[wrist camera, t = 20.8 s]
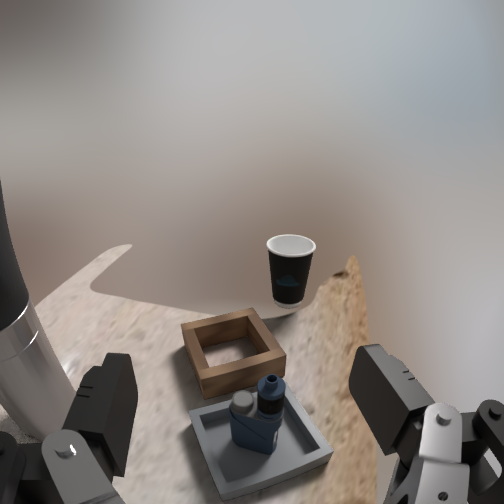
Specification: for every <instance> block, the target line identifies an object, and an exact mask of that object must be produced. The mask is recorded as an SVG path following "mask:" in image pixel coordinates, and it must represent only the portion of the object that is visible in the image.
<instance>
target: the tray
mask: <svg viewBox="0 0 504 504" xmlns="http://www.w3.org/2000/svg"><path fill="white" fill-rule="evenodd" d="M285 384H286V389H285V398H284V407H283V410H284V413H283V422H282V425H281V427H280V428H279V430H278V438H277V447H276V449H275V451H274V452H273V453H272V454H271V455H266V454H263V453H259V452H255V451H252V450H248V449H245V448H241V447H238V446H237V445H236V444H235V443H234V442H233V440H232V436H231V428H230V420H229V411H228V408H229V405H230V403H231V401H232V399H231V400H228V401H224V402H221V403H217V404H213V405H209V406H206V407H202V408H198V409H194V410H190V411H188V412H189V415H190V419H191V422H192V425H193V428H194V431H195V433H196V436H197V439H198V442H199V444H200V447H201V450H202V452H203V455H204V458H205V460H206V463H207V465H208V468H209V470H210V473H211V475H212V478H213V480H214V483H215V485H216V487H217V490H218V492H219V494H220V497H221V499H222V501H226V500H230V499H233V498H236V497H240V496H243V495H246V494H249V493H252V492H255V491H258V490H261V489H264V488H266V487H269V486H272V485H275V484H277V483H280V482H282V481H285V480H287V479H290V478H292V477H295V476H297V475H300V474H302V473H304V472H307V471H309V470H311V469H313V468H315V467H318V466H320V465H322V464H324V463H326V462H328V461H329V460H330V458H331V456H332V454H333V452H334V451H333V449H332V448H331V446H330V445H329V444H328V442H327V441H326V439H325V438H324V437H323V435H322V434H321V432H320V431H319V429H318V428H317V427H316V425H315V424H314V422H313V421H312V419H311V418H310V417H309V415H308V414H307V412H306V411H305V409H304V408H303V406H302V405H301V404H300V402H299V401H298V399H297V398H296V396H295V395H294V393H293V392H292V390H291V389H290V387H289V386H288V384H287V383H286V382H285ZM252 394H253V396H254V397H256V398H257V392H254V393H252ZM280 399H281V398H280Z"/></svg>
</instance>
